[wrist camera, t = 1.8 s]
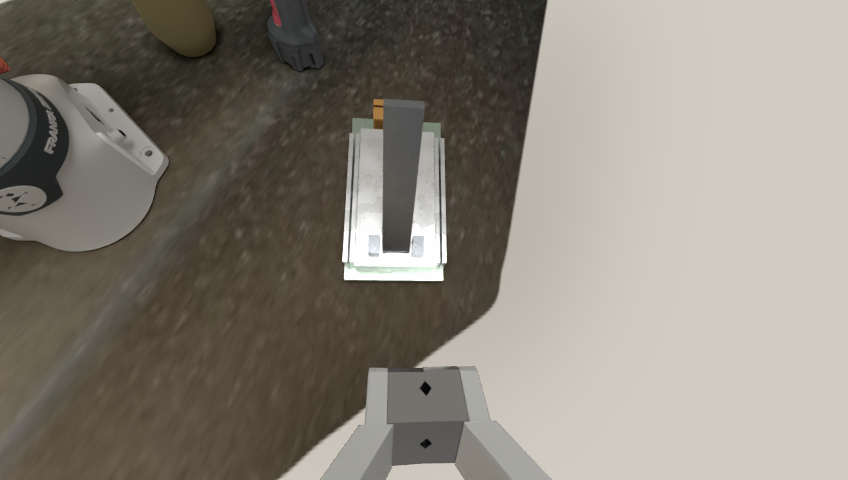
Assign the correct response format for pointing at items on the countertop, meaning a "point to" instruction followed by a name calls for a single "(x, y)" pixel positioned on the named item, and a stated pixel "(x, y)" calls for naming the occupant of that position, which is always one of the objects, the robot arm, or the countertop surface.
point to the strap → (400, 170)
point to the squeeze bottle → (180, 24)
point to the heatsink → (367, 209)
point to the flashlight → (294, 34)
